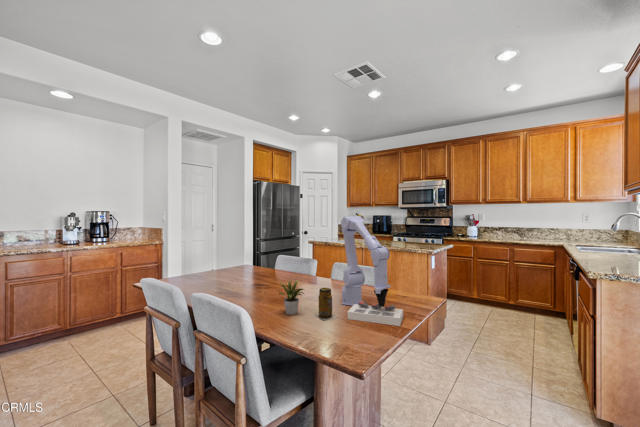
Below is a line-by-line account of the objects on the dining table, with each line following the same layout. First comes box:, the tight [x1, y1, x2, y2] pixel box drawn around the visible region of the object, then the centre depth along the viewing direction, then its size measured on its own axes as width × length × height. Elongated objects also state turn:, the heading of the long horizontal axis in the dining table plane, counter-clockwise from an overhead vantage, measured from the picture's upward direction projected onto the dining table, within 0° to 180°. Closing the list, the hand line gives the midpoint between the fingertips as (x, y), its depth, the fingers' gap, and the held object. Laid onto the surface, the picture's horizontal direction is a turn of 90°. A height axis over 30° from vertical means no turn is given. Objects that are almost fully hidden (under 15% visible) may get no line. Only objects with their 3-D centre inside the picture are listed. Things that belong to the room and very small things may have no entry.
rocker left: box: [358, 301, 370, 308], centre depth 130 cm, size 4×3×2 cm
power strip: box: [347, 304, 404, 327], centre depth 127 cm, size 22×15×4 cm
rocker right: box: [384, 304, 396, 311], centre depth 125 cm, size 4×3×2 cm
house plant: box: [277, 277, 305, 316], centre depth 132 cm, size 14×14×16 cm
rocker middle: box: [370, 303, 382, 309], centre depth 127 cm, size 4×3×2 cm
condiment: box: [314, 287, 339, 321], centre depth 128 cm, size 7×8×12 cm
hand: (381, 306), depth 126 cm, fingers closed, pressing on rocker middle
